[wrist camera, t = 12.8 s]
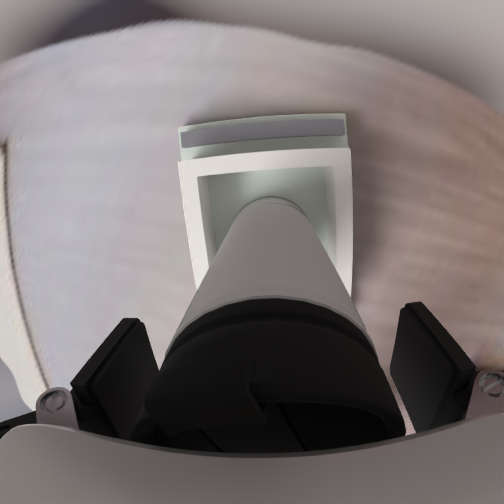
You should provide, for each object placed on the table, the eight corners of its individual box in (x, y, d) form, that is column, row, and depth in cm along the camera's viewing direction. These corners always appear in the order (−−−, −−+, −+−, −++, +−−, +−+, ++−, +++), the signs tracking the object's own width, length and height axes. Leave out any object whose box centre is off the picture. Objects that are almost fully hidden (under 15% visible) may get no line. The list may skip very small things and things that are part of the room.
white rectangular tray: (345, 316, 27) (356, 343, 22) (209, 324, 28) (199, 352, 23) (342, 115, 21) (358, 107, 17) (181, 128, 22) (162, 123, 18)
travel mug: (293, 180, 22) (416, 324, 3) (320, 256, 24) (411, 496, 5) (218, 208, 23) (53, 403, 4) (249, 281, 25) (207, 529, 6)
